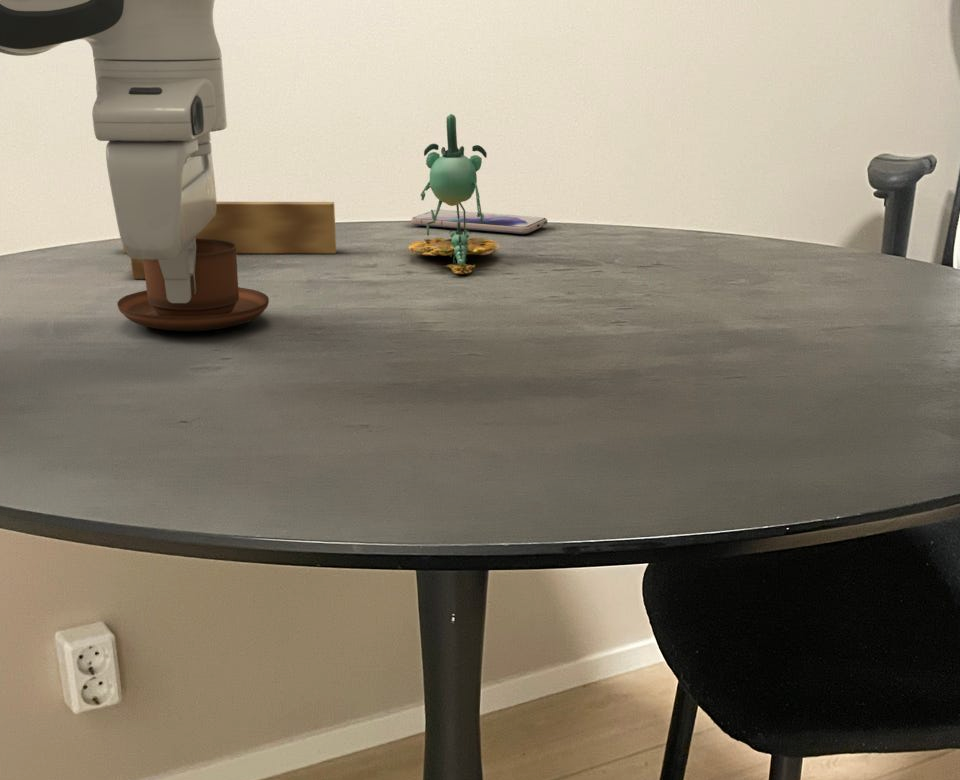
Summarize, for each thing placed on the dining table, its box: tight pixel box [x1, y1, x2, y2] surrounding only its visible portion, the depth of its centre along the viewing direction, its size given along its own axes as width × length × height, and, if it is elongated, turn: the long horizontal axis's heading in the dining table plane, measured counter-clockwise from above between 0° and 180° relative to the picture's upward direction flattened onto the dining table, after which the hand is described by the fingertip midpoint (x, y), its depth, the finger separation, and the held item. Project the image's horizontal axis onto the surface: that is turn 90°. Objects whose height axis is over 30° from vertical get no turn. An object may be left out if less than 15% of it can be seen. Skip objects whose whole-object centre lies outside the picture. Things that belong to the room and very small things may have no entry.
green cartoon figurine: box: [407, 113, 501, 275], centre depth 127 cm, size 10×18×15 cm, turn 171°
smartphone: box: [411, 209, 548, 235], centre depth 148 cm, size 7×1×15 cm
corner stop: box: [122, 201, 337, 280], centre depth 124 cm, size 22×15×5 cm
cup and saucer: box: [117, 238, 270, 332], centre depth 101 cm, size 12×12×6 cm
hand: (182, 299), depth 96 cm, fingers closed
